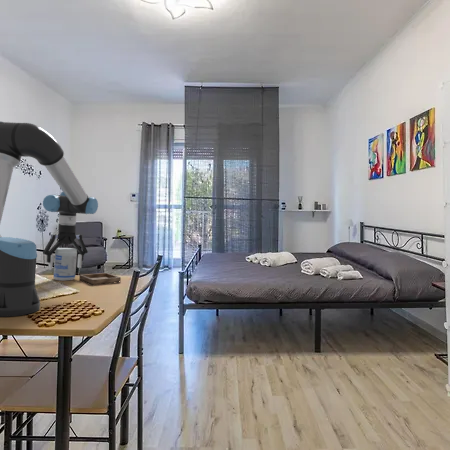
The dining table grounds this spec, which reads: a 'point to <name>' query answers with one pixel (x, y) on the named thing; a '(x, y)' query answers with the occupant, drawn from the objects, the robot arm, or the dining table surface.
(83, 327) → the dining table surface
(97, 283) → the well tray
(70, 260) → the supplement tub
